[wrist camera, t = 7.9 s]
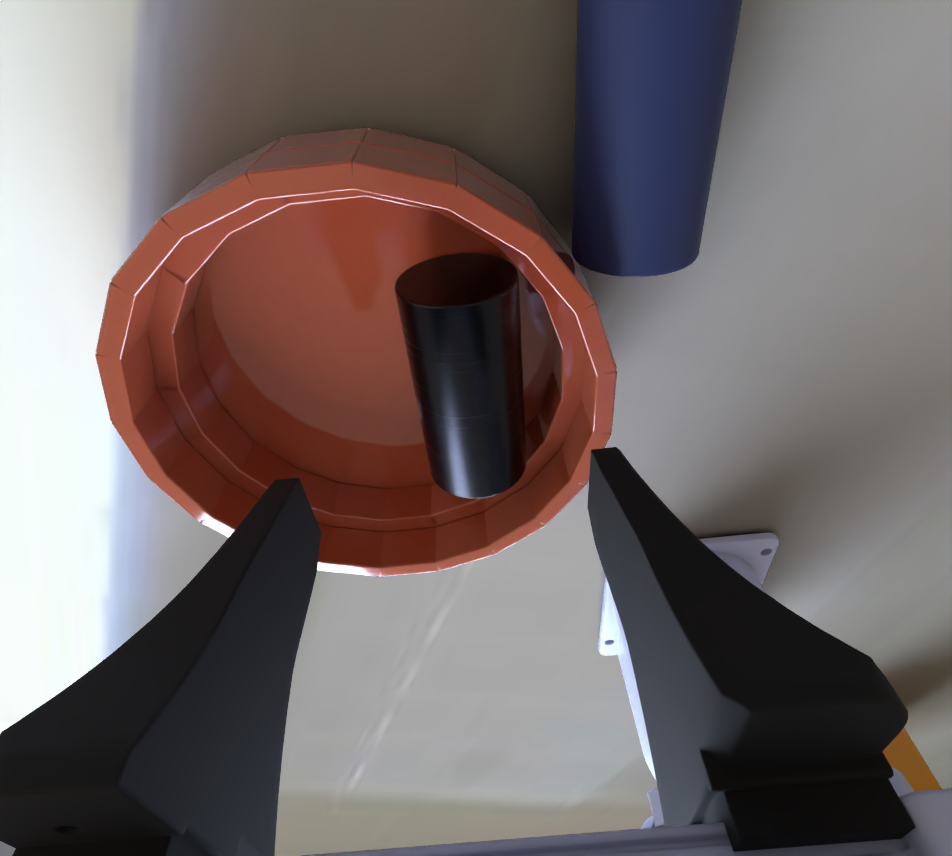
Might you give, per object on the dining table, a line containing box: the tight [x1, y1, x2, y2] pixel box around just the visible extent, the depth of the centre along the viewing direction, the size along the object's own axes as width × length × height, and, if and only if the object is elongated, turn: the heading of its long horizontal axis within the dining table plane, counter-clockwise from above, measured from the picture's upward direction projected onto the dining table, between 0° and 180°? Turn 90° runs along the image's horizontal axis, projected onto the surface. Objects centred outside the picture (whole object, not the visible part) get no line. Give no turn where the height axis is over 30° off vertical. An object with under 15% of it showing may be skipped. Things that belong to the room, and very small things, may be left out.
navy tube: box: [572, 0, 742, 277], centre depth 13 cm, size 7×3×3 cm
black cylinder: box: [394, 253, 526, 499], centre depth 17 cm, size 7×3×3 cm, turn 5°
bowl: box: [96, 127, 617, 577], centre depth 18 cm, size 14×14×4 cm
